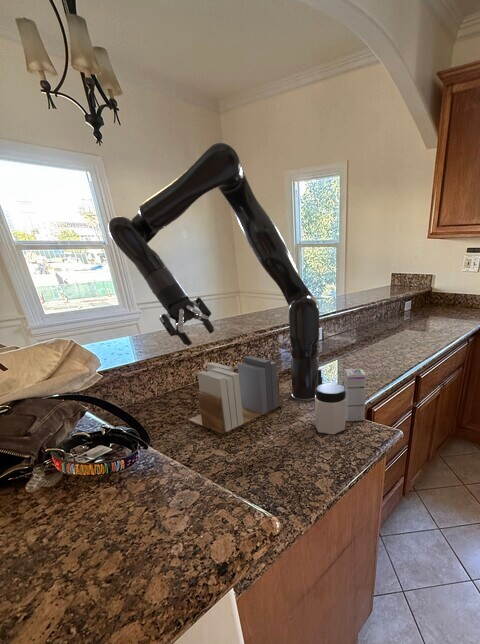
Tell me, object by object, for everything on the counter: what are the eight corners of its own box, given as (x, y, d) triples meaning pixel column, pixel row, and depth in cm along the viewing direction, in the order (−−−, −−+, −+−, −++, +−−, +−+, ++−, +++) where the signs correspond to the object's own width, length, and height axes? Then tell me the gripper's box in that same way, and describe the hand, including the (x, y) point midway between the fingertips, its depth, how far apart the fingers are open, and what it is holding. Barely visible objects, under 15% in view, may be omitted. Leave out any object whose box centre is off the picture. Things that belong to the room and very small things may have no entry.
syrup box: (364, 420, 105) (367, 374, 99) (345, 421, 104) (346, 374, 98) (361, 412, 110) (363, 368, 104) (342, 413, 109) (344, 368, 103)
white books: (222, 415, 105) (216, 366, 99) (243, 423, 101) (238, 372, 94) (204, 423, 100) (196, 372, 94) (226, 432, 96) (219, 379, 89)
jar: (347, 433, 98) (349, 393, 92) (319, 436, 96) (319, 395, 91) (339, 419, 105) (341, 381, 100) (313, 421, 104) (312, 383, 99)
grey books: (258, 399, 116) (254, 353, 110) (278, 406, 112) (276, 358, 105) (241, 407, 111) (236, 359, 104) (262, 414, 106) (258, 364, 99)
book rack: (248, 396, 121) (245, 366, 116) (281, 407, 113) (280, 375, 108) (188, 421, 103) (182, 387, 98) (222, 436, 95) (218, 399, 91)
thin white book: (218, 408, 110) (212, 361, 103) (238, 415, 105) (233, 367, 99) (213, 410, 108) (206, 363, 102) (233, 418, 104) (227, 369, 97)
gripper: (148, 292, 94) (187, 345, 98) (191, 274, 102) (224, 324, 107) (141, 303, 99) (178, 352, 104) (182, 285, 108) (214, 331, 113)
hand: (201, 338), depth 105 cm, fingers open, 8 cm apart
